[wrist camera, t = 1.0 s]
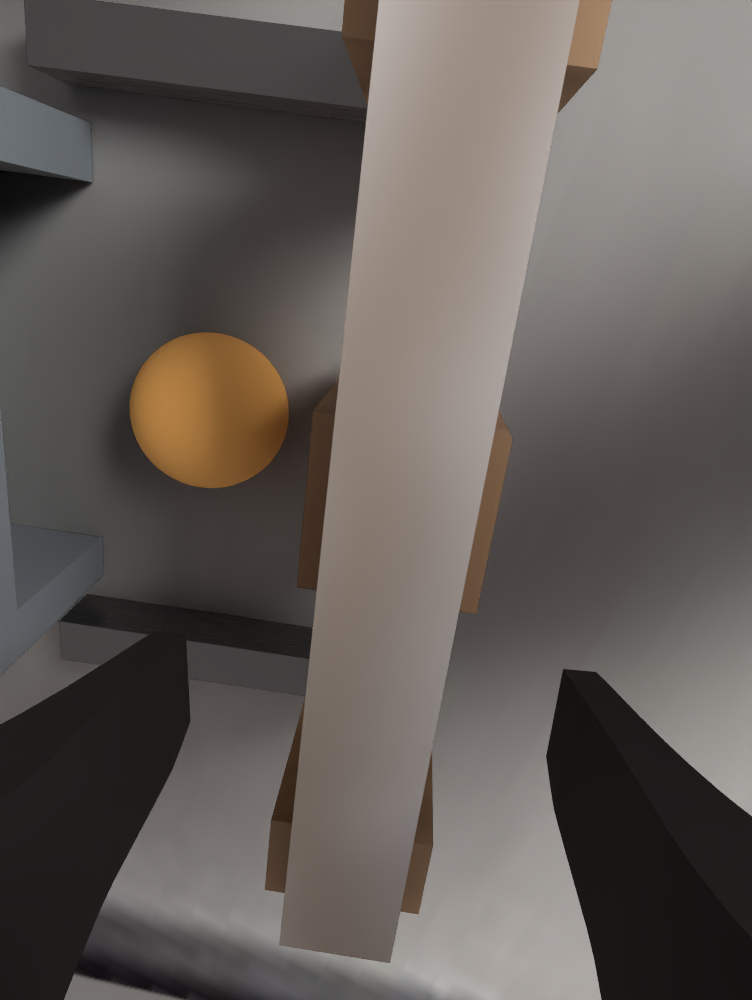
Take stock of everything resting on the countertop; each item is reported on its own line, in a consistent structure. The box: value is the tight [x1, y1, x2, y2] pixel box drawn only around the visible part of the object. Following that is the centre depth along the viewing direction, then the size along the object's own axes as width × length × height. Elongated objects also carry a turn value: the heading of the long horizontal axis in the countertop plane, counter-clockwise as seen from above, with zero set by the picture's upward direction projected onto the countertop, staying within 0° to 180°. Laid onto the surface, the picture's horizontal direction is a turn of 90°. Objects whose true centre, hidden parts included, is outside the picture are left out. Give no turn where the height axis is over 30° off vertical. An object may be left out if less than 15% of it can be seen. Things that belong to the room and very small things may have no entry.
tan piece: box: [265, 0, 612, 963], centre depth 12 cm, size 3×16×7 cm, turn 173°
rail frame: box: [24, 0, 368, 696], centre depth 16 cm, size 10×15×2 cm, turn 173°
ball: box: [130, 332, 289, 488], centre depth 15 cm, size 4×4×4 cm
